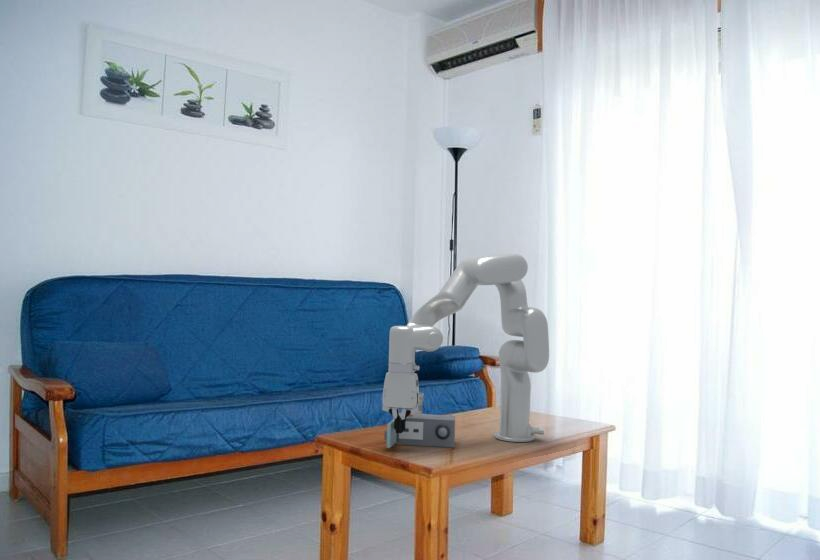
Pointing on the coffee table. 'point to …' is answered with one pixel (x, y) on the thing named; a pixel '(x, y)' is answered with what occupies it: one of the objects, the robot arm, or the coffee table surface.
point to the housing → (428, 430)
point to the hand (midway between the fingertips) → (399, 432)
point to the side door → (390, 434)
